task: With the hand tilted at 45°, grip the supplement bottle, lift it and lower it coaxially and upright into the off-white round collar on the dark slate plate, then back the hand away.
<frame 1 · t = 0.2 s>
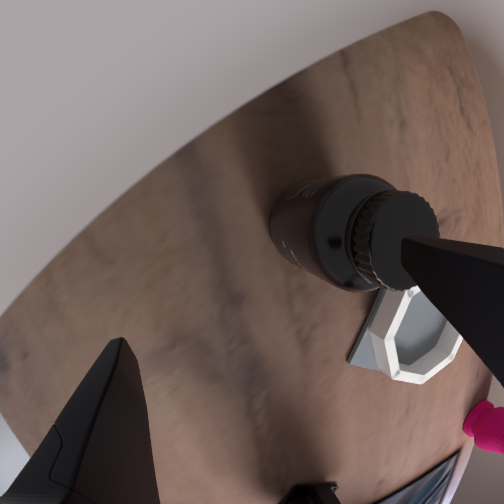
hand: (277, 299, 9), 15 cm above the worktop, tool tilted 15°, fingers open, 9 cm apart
supplement bottle: (308, 223, 25), on the worktop
pepper mill: (474, 415, 37), on the worktop
collar seat: (414, 319, 29), on the worktop
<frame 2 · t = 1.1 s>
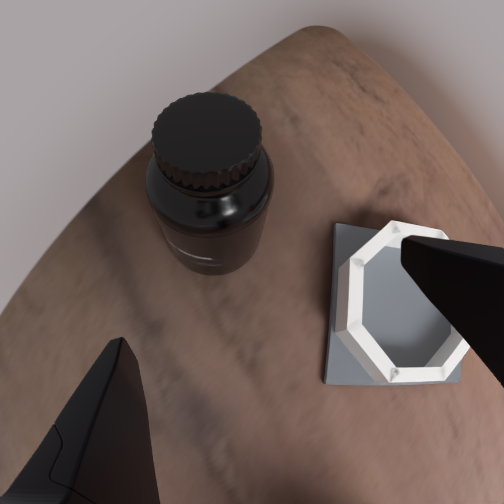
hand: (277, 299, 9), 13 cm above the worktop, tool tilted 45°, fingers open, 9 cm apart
supplement bottle: (215, 235, 24), on the worktop
collar seat: (401, 308, 23), on the worktop
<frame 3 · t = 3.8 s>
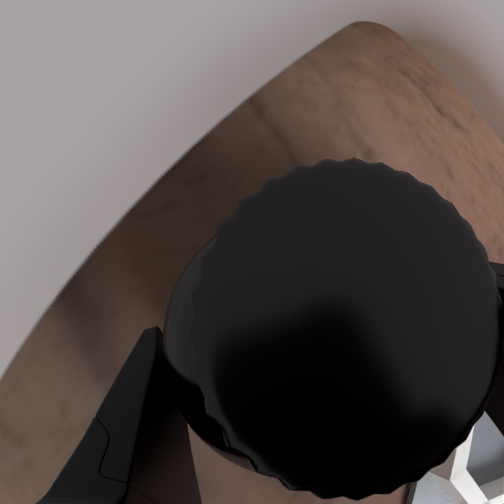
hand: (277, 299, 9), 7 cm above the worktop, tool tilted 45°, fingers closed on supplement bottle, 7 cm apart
supplement bottle: (268, 352, 15), on the worktop, touching gripper
collar seat: (492, 417, 14), on the worktop
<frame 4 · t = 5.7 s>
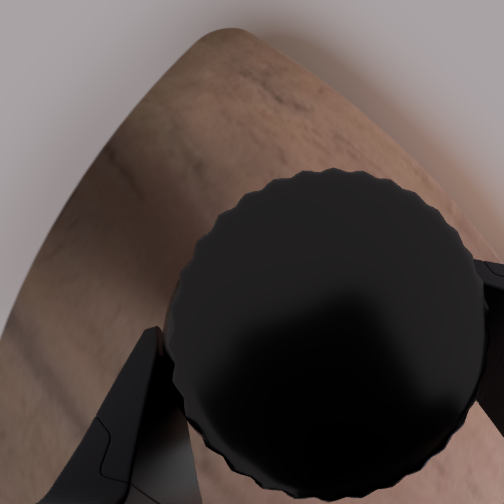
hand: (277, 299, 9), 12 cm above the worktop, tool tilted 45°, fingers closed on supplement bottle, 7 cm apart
supplement bottle: (276, 347, 15), point 5 cm above the worktop, touching gripper
when the fingers open (8 cm above the worktop, at t = 7.8 s): supplement bottle stays where it is, resting on collar seat.
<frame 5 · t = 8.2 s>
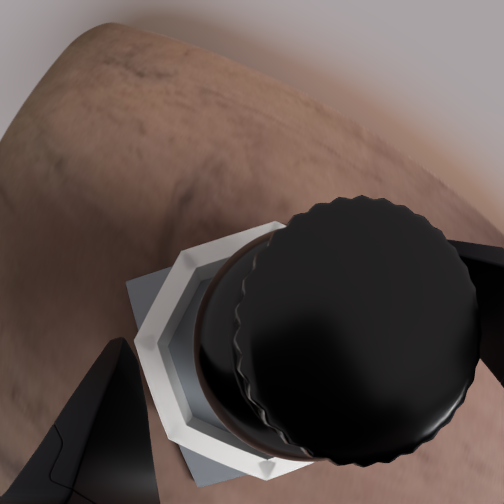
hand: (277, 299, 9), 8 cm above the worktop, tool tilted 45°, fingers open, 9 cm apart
supplement bottle: (276, 352, 16), resting on collar seat
collar seat: (265, 352, 17), on the worktop
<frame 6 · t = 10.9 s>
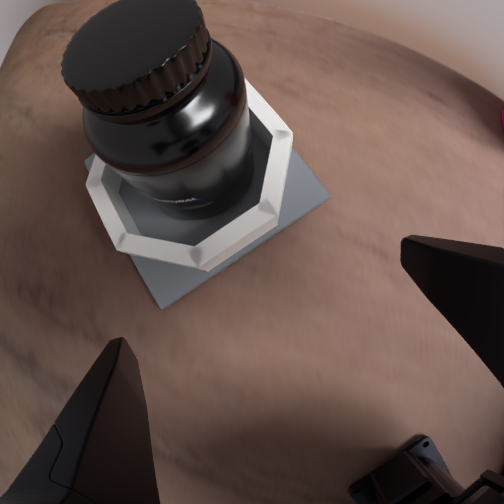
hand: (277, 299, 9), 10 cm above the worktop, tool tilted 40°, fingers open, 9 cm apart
supplement bottle: (201, 170, 19), resting on collar seat
collar seat: (194, 175, 20), on the worktop
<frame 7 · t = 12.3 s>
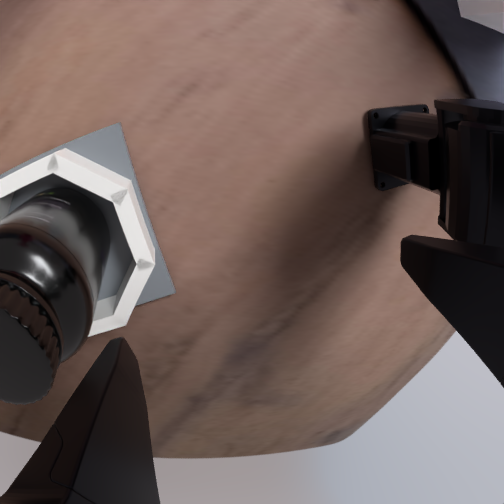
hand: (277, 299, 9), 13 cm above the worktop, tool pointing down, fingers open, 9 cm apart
supplement bottle: (64, 234, 18), resting on collar seat
collar seat: (66, 240, 19), on the worktop
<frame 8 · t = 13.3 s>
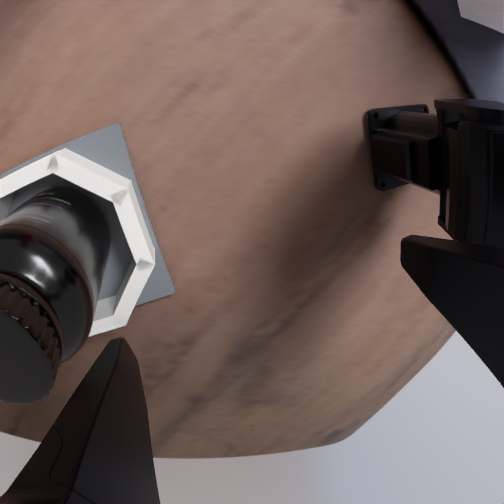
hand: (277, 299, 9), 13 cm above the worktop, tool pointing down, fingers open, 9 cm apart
supplement bottle: (64, 234, 18), resting on collar seat
collar seat: (66, 240, 19), on the worktop
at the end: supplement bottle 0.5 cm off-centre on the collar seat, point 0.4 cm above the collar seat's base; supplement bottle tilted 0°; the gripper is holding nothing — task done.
